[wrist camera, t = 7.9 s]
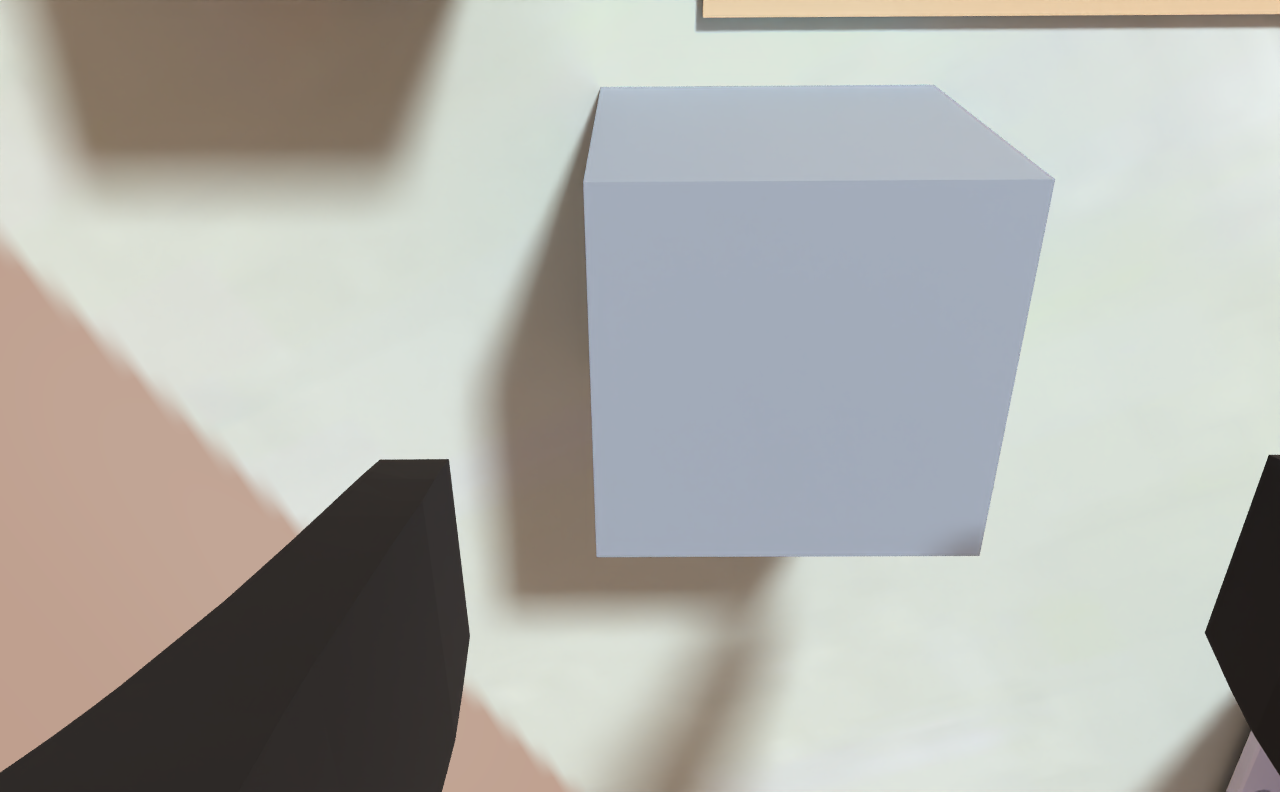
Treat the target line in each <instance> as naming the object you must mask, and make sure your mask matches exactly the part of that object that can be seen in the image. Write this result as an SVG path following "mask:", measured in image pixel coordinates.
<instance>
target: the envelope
mask: <svg viewBox="0 0 1280 792" xmlns="http://www.w3.org/2000/svg"><path fill="white" fill-rule="evenodd" d="M1215 14H1280V0H703V18H729V17H891V16H1053V15H1215Z"/></svg>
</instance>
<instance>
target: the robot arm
mask: <svg viewBox="0 0 1280 792" xmlns="http://www.w3.org/2000/svg"><path fill="white" fill-rule="evenodd" d="M1205 634H1206V636H1207V639H1208V641H1209V643H1210V645H1211V647H1212V650H1213V652H1214V654H1215V656H1216V658H1217V661H1218V663H1219V665H1220V667H1221V669H1222V672H1223V674H1224V676H1225V678H1226V680H1227V683H1228V685H1229V687H1230V689H1231V691H1232V693H1233V695H1234V697H1235V699H1236V701H1237V703H1238V705H1239V707H1240V709H1241V711H1242V713H1243V715H1244V717H1245V719H1246V721H1247V723H1248V724H1249V726H1250V728H1251V732H1250V735H1249V737H1248V739H1247V742H1246V744H1245V747H1244V749H1243V751H1242V754H1241V756H1240V759H1239V761H1238V763H1237V766H1236V768H1235V771H1234V773H1233V776H1232V778H1231V780H1230V783H1229V785H1228V788H1227V790H1226V792H1280V455H1269V456H1268V459H1267V462H1266V464H1265V467H1264V470H1263V473H1262V475H1261V478H1260V481H1259V484H1258V487H1257V489H1256V492H1255V495H1254V498H1253V500H1252V503H1251V506H1250V509H1249V511H1248V514H1247V517H1246V520H1245V523H1244V525H1243V528H1242V531H1241V534H1240V536H1239V539H1238V542H1237V545H1236V548H1235V550H1234V553H1233V556H1232V559H1231V561H1230V564H1229V567H1228V570H1227V573H1226V575H1225V578H1224V581H1223V584H1222V586H1221V589H1220V592H1219V595H1218V598H1217V600H1216V603H1215V606H1214V609H1213V611H1212V614H1211V617H1210V620H1209V623H1208V625H1207V628H1206V631H1205ZM469 639H470V633H469V625H468V617H467V608H466V600H465V591H464V583H463V575H462V566H461V558H460V550H459V541H458V533H457V524H456V516H455V508H454V499H453V491H452V482H451V474H450V466H449V459H416V460H379V461H378V462H377V463H376V464H374V465H373V466H372V467H371V468H370V469H369V470H367V471H366V472H365V473H364V474H363V475H362V476H361V477H360V478H359V479H358V480H356V481H355V482H354V483H353V484H352V485H351V486H350V487H349V488H348V489H347V490H346V491H345V492H344V493H342V494H341V495H340V496H339V497H338V498H337V499H336V500H335V501H334V502H333V503H332V504H331V505H330V506H329V507H328V508H326V509H325V510H324V511H323V512H322V513H321V514H320V515H319V516H318V517H317V518H316V519H315V520H314V521H313V522H311V523H310V524H309V525H308V526H307V527H306V528H305V529H304V530H303V531H302V532H301V533H300V534H298V535H297V536H296V537H295V538H294V539H293V540H292V541H291V542H290V543H289V544H288V545H286V546H285V547H284V548H283V549H282V550H281V551H280V552H279V553H278V554H276V555H275V556H274V557H273V558H272V559H271V560H270V561H269V562H268V563H266V564H265V565H264V566H263V567H262V568H261V569H260V570H259V571H257V572H256V573H255V574H254V575H253V576H252V577H251V578H250V579H249V580H247V581H246V582H245V583H244V584H243V585H242V586H241V587H240V588H239V589H237V590H236V591H235V592H234V593H233V594H232V595H231V596H230V597H228V598H227V599H226V600H225V601H224V602H223V603H221V604H220V605H219V606H218V607H216V608H215V609H214V610H213V611H211V612H210V613H209V614H208V615H207V616H205V617H204V618H203V619H202V620H201V621H199V622H198V623H197V624H196V625H194V626H193V627H192V628H191V629H189V630H188V631H187V632H186V633H185V634H183V635H182V636H181V637H180V638H179V639H177V640H176V641H175V642H174V643H172V644H171V645H170V646H169V647H168V648H166V649H165V650H164V651H162V652H161V653H160V654H159V655H158V656H156V657H155V658H154V659H153V660H151V661H150V662H149V663H148V664H146V665H145V666H144V667H143V668H142V669H140V670H139V671H138V672H137V673H136V674H134V675H133V676H132V677H131V678H129V679H128V680H127V681H126V682H124V683H123V684H122V685H121V686H119V687H118V688H117V689H116V690H114V691H113V692H112V693H110V694H109V695H108V696H106V697H105V698H104V699H102V700H101V701H100V702H98V703H97V704H96V705H95V706H93V707H92V708H91V709H89V710H88V711H87V712H85V713H84V714H83V715H81V716H80V717H78V718H77V719H76V720H74V721H73V722H72V723H70V724H69V725H68V726H66V727H65V728H63V729H62V730H61V731H59V732H58V733H57V734H55V735H54V736H53V737H51V738H50V739H48V740H47V741H45V742H44V743H42V744H41V745H39V746H38V747H37V748H35V749H34V750H32V751H31V752H29V753H28V754H26V755H25V756H24V757H22V758H21V759H19V760H18V761H16V762H15V763H14V764H12V765H11V766H9V767H8V768H6V769H5V770H3V771H2V772H0V792H442V789H443V785H444V781H445V778H446V774H447V770H448V766H449V762H450V758H451V754H452V750H453V747H454V743H455V738H456V731H457V725H458V718H459V711H460V705H461V698H462V691H463V684H464V676H465V669H466V661H467V654H468V646H469Z"/></svg>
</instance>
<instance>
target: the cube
mask: <svg viewBox="0 0 1280 792" xmlns="http://www.w3.org/2000/svg"><path fill="white" fill-rule="evenodd" d="M1054 182H1055V179H1054V178H1053V177H1051V176H1050V175H1049V174H1048V173H1046V172H1045V171H1044V170H1042V169H1041V168H1040V167H1039V166H1037V165H1036V164H1035V163H1033V162H1032V161H1031V160H1030V159H1028V158H1027V157H1026V156H1024V155H1023V154H1022V153H1021V152H1019V151H1018V150H1017V149H1015V148H1014V147H1013V146H1012V145H1010V144H1009V143H1008V142H1007V141H1005V140H1004V139H1003V138H1001V137H1000V136H999V135H998V134H996V133H995V132H994V131H992V130H991V129H990V128H989V127H987V126H986V125H985V124H983V123H982V122H981V121H980V120H978V119H977V118H976V117H974V116H973V115H972V114H971V113H969V112H968V111H967V110H966V109H964V108H963V107H962V106H960V105H959V104H958V103H957V102H955V101H954V100H953V99H951V98H950V97H949V96H948V95H946V94H945V93H944V92H942V91H941V90H940V89H939V88H937V87H936V86H935V85H841V86H694V87H601V88H600V94H599V99H598V105H597V110H596V115H595V121H594V126H593V132H592V137H591V143H590V148H589V153H588V159H587V164H586V170H585V175H584V181H583V191H584V219H585V247H586V275H587V303H588V331H589V359H590V387H591V415H592V443H593V471H594V499H595V527H596V555H597V557H780V556H979V555H980V550H981V545H982V540H983V535H984V530H985V525H986V520H987V515H988V510H989V505H990V500H991V495H992V490H993V486H994V481H995V476H996V471H997V466H998V461H999V456H1000V451H1001V446H1002V441H1003V436H1004V431H1005V426H1006V421H1007V416H1008V411H1009V406H1010V401H1011V396H1012V391H1013V386H1014V381H1015V376H1016V371H1017V366H1018V361H1019V356H1020V351H1021V346H1022V341H1023V336H1024V331H1025V326H1026V321H1027V316H1028V311H1029V306H1030V301H1031V296H1032V291H1033V286H1034V281H1035V276H1036V271H1037V266H1038V261H1039V256H1040V251H1041V246H1042V241H1043V236H1044V232H1045V227H1046V222H1047V217H1048V212H1049V207H1050V202H1051V197H1052V192H1053V187H1054Z"/></svg>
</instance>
